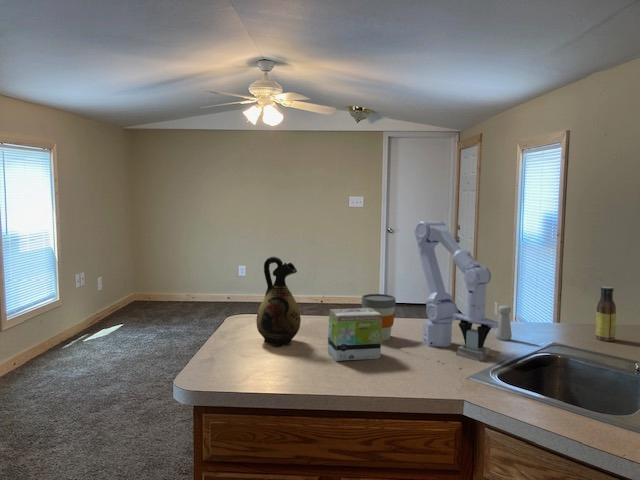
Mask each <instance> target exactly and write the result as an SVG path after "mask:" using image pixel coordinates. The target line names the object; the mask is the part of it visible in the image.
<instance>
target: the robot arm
mask: <svg viewBox="0 0 640 480" xmlns="http://www.w3.org/2000/svg"><path fill="white" fill-rule="evenodd" d="M449 231H450V229H449V226H447V225H446V223H445V222H444V221H443V220H437V221H436V220H434V221H433V220H432V221H431V220H430V221H427V220H426V221H425V220H420V221H419V222H418V223H417V224H416V226H415V228H414V236H415V239H416V242H417V251H418V254H419V258H420V263H421V267H422V270H423V273H424V274H423V275H424V277H425V281H426V285H427V288H428V292H429V296H428V297H427V299H426V301H425V306H426V311H425V312H426V315H427V318H428V320H426V321H424V323H423V326H422V327H423V329H422V342H423V343H424V344H425V345H426V346H427V347H440V348H441V347H451V346H452V340H453V339H452V337H453V336H452V335H453V322H454V321H460V322H459V323H458V326H459V329H460V330H461V333H462V336H463V341H464V345H466V334H467V330H470V329H473V328H472V327H473V325H474V324H475V325H479V326H477V327H476V328H477V329H476V330H478V348H482V347H483V346H484V345H485V342H486V339H487V337H488V334H489V333H490V331H491V329H495V330H496V328H498V323H499V322H498V320H494V319H490V318H487V317H486V304H487V303H486V302H487V301H486V300H487V285H488V284H489V283H490V281H491V279H492V274H491V271H490V270H489V268H488V267H487V266H485V265H481V263H480V262H478V261H477V260H476V259H475V258H474V256H473V255H472V252H471V251H470V250H467V249H462V248H461V246H460V245H459V244H458V242H457V241H456V239H454V237H453V235H452V234H451V233H450V232H449ZM439 243H441V244H442V246H443V247H444V248H445V249H446V250H447V251H448V252H449V253H450V254H451V255H452V262H453V263H454V264H455V265H456V266H457V268H458V269H459V271H461V272H462V274H463V280H464V282H465V285H466V287H465V288H466V291H467V292H466V310H465V311H466V312H465V313H466V314H465V313H458V311H459V309H458V306H457V304H456V303H455V301H454V299H453V296H452V295H451V294H449V293H448V292H447V291H446V287H445V285H444V281H443V277H442V274H441V269H440V266H439V263H438V262H439V261H438V259H437V255H436V252H435V248H436V246H438V245H439Z"/></svg>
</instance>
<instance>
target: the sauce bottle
mask: <svg viewBox="0 0 640 480" xmlns="http://www.w3.org/2000/svg"><path fill="white" fill-rule="evenodd" d="M614 291H615V290H614V287H613V286H608V285H607V286H605V285H603V286H600V299H599V301H598V304H597V308H596V316H595V317H596V319H595V320H596V322H595V336H596V337H595V338H596V339H598V340H600V341H601V342H602V341H604V342H614V341H615V339H616V338H615V337H616V322H617V312H616V310H617V306H616V303H615V301H614V298H613V296H614V294H613V293H614Z"/></svg>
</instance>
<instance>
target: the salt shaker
mask: <svg viewBox="0 0 640 480" xmlns="http://www.w3.org/2000/svg"><path fill="white" fill-rule="evenodd" d="M498 312H499V317H498V320H497V321H498V322H499V323H498V328H496V329H495V330H494V331H495V332H494V336H495V339H496V340H499V341H503V342H504V341H510V340H511V339H512V336H513V335H512V328H511V319H510V314H511V313H512V308H511V306H509V305H500V306H498Z"/></svg>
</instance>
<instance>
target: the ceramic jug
mask: <svg viewBox="0 0 640 480" xmlns="http://www.w3.org/2000/svg"><path fill="white" fill-rule="evenodd" d="M263 264H264V265H263V273H264V278H265V281H266V285H267V289H266V290H265V295H264V299H263V300H262V302H261V304H259V308H258V310H257V315H256V319H255V320H256V322H255V323H256V329H257V331H258V334H260V335H261V336H262V338H263V343H264V344H266V345H267V346H269V347H270V346H271V347H275V348H280V347H288V346H291V344H292V341H293V338H295V336H296V335H297V334H298V332H299V330H300V328H301V321H302V318H301V314H300V309H299V306H298V303H297V301H296V299H295V298H294V296H293V294H292V292H291V290H290V289H289V287H288V285H287V284H286V278H287V277H288V276H290V275H294V274H296V273H298V270H297V268H296V266H294V263H292V262H288V263H287V262H284V263H283V261H282V260H281V258H279V257H277V256H270V257H268V258H266V260H265V262H264V263H263ZM271 264H276V265H277V267H276V268H275V269H274V270H273V271H272V275H271V270H270V265H271ZM271 276H273V277H275V281H274V282H273V280H272V277H271Z"/></svg>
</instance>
